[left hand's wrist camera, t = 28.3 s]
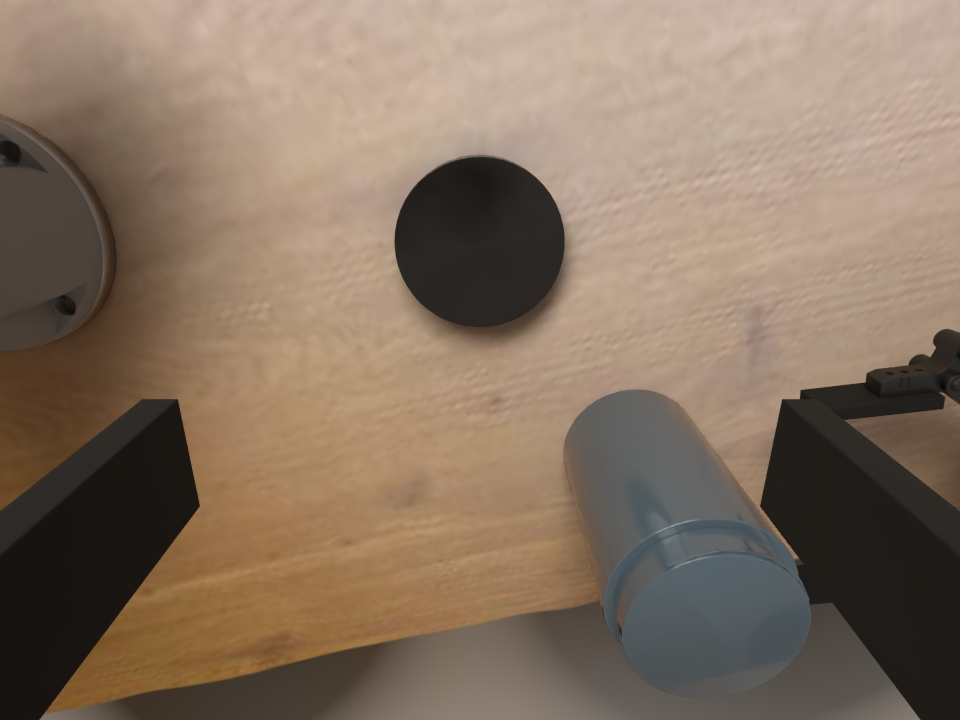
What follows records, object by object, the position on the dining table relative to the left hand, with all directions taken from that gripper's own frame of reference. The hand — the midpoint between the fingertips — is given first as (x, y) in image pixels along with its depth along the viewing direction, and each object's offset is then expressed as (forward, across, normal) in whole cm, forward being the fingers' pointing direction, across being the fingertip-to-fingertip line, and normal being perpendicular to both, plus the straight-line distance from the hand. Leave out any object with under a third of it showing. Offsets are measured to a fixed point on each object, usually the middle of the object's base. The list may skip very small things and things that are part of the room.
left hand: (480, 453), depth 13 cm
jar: (+28, +12, -16) cm, 34 cm away
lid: (+26, 0, 0) cm, 26 cm away
